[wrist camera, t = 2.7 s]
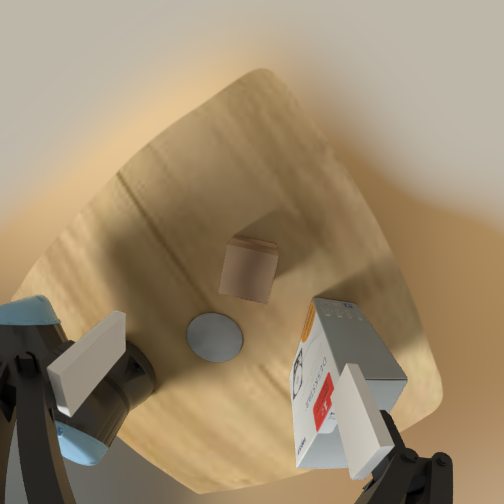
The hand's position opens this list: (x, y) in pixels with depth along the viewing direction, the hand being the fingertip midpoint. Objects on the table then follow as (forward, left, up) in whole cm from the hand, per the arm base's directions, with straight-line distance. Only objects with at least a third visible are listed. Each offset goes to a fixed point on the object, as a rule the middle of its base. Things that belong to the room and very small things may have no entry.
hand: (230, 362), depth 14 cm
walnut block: (0, 0, -26) cm, 26 cm away
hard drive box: (+14, -11, -26) cm, 31 cm away
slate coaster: (-3, -14, -26) cm, 30 cm away
